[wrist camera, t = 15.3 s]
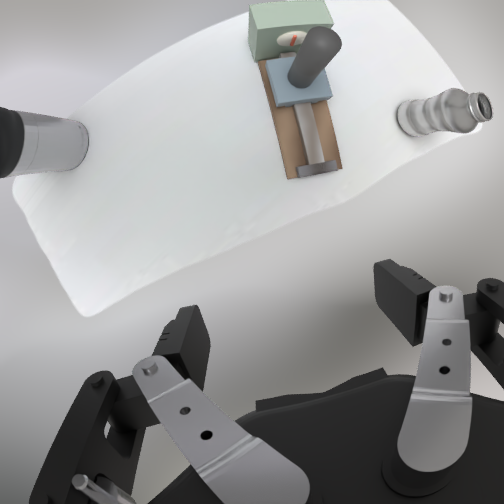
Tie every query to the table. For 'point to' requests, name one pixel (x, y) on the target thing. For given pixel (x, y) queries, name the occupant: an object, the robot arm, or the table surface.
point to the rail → (292, 132)
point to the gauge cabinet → (283, 26)
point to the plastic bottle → (445, 113)
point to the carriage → (304, 69)
